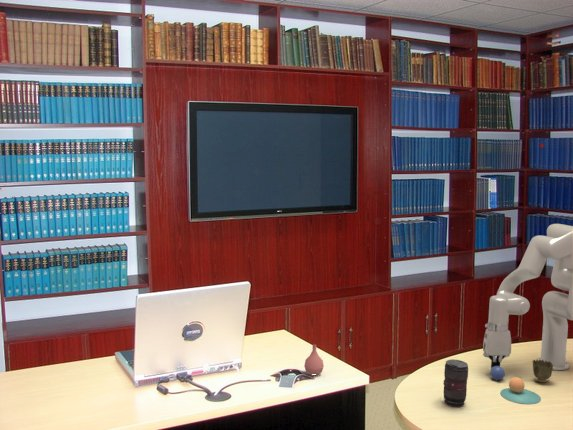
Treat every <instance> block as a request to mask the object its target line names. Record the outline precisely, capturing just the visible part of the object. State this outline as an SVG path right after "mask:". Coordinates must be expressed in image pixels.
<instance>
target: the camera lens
mask: <svg viewBox="0 0 573 430" xmlns="http://www.w3.org/2000/svg"><path fill="white" fill-rule="evenodd" d="M443 372H444V375H443V376H444V380H443V382H442V383H443V399H444V404H446V405H447V406H449V407H454V408H459V407H463V406H464V405H465V402H466V399H467V392H468V391H467V385H468V379H469V378H468V377H469V364H468V363H467V362H465V360H464V361H463V360H460V359H447V360H446V361H445V364H444V371H443Z"/></svg>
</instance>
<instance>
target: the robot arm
mask: <svg viewBox="0 0 573 430" xmlns="http://www.w3.org/2000/svg"><path fill="white" fill-rule="evenodd" d="M548 259H550V260H551V259H552V260H554V262H553V263H554V264H553V268H552V270H551V276H550V278H551V279H550V282H551V285H552V286H553V287H554V288H557V289H558V290H562V291H565V292H568V294H567V293H565V292H561V291H557V290H551V291H547V292H546V293H545V294H544V295H543V297H542V301H541V307H542V314H543V315H542V316H543V322H542V335H541V336H542V337H541V349H540V350H541V351H540V357H539V358H537V359H536V360H538V361H539V360H541V361H542V360H543V361H544V362H545V361H546V360H547V362H549V361H550V362H551V363H552V365H553V369H552V371H553V370H554V371H565V370H568V369H569V368H570V363H568V362H567V361H566V359H567V357H566V354H567V343H568V331H569V329H568V328H569V324H568V320H570V321H573V225H568V224H563V223H562V224H561V223H552V224H550V225H549V226H548V227H547V229H546V235H535V236H533V237H532V238H531V240H530V241H529V244H528V246H527V248H526V250H525V252H524V254H523V256H522V259H521V262H520V264H519V266H518V267H517V268H516V269H515V270H513V271H512V272H511V273H509V274H508V275H507V276H506V277H505V278H504V279H503V281H502V282H501V284H500V285H499V288H498V289H497V292H496V295H492V296H490V298H489V304H488V305H489V307H488V321H487V323H485V325H484V327H485V328H486V329H485V332H484V337H483V345H482V351H483V353H482V356H483V357H485V358H488V359H490V360H491V363H490V364H491V365H490V366H491V367H490V369H491V368H492V367H494V366H500V367H501V363H502V361H503V360H504V359H505V358H508V357H510V355H511V353H512V337H511V335H512V334H511V331H510V330H509V320H510V318H509V316H510V315H516V316H523V315H525V314H526V313H527V312H529V310H530V308H531V303H530V302H529V301H530V300H528V299H527V298H526V297H524V296H522V295H519V294H516V293H514V292H515V290H516V289H517V287H518V286H519V285H520V284H521V283H523V282H526V281H530V280H533V279H537V278H539V277H540V276H541V273H542V271H543V269H544V266H546V265H545V264H546V262H547V261H548Z"/></svg>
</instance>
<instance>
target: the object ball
mask: <svg viewBox="0 0 573 430" xmlns="http://www.w3.org/2000/svg"><path fill="white" fill-rule="evenodd" d="M525 386H526V385H525V382H524V380H522V379H521V378H520V377H512V378H511V379H510V380H509V383H508V388H510V389H511V390H512V391H513V392H515V393H520V392H522V391H523V390H524V389H525Z"/></svg>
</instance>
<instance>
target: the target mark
mask: <svg viewBox="0 0 573 430" xmlns="http://www.w3.org/2000/svg"><path fill="white" fill-rule="evenodd" d="M499 394H500V396H501V397H502V398H503V399H505V400H507V401H509V402H513V403H516V404H521V405H535V404H538V403H540V402H541V400H542V398H541V396H540V395H539V394H538V393H536V392H534V391H532V390H530V389H529V390H528V389H525V388H524V390H523V391H522V392H520V393H515V392H513V391H512V390H511V389H510V387H508V388H502V389H501V390H500V393H499Z"/></svg>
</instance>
